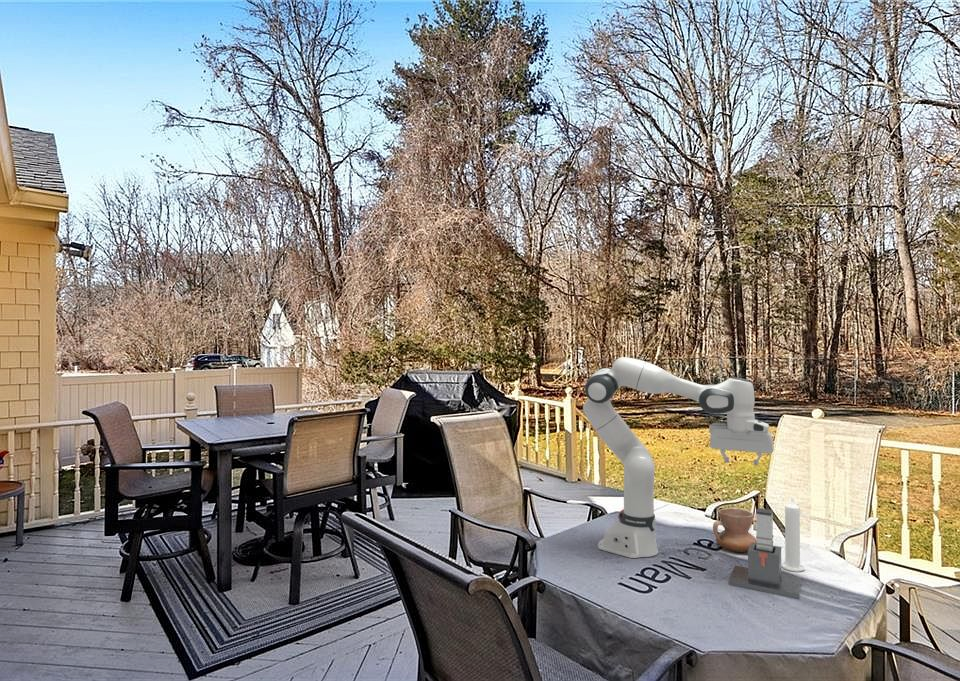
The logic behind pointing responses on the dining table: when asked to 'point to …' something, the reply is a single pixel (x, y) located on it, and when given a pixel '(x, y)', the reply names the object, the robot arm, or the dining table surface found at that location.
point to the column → (764, 530)
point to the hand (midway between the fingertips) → (741, 463)
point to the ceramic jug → (734, 529)
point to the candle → (792, 538)
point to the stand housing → (765, 574)
